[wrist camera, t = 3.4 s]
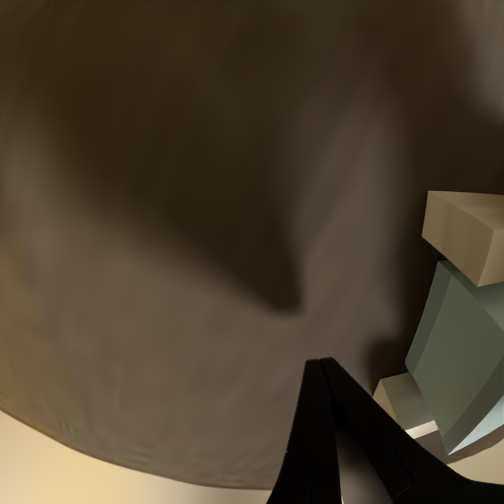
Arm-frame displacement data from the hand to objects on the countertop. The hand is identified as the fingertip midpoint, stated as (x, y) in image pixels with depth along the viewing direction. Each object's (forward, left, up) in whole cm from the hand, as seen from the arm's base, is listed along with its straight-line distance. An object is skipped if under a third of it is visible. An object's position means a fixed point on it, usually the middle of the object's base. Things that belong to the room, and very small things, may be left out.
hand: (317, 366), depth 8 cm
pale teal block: (-8, 0, -1) cm, 8 cm away
